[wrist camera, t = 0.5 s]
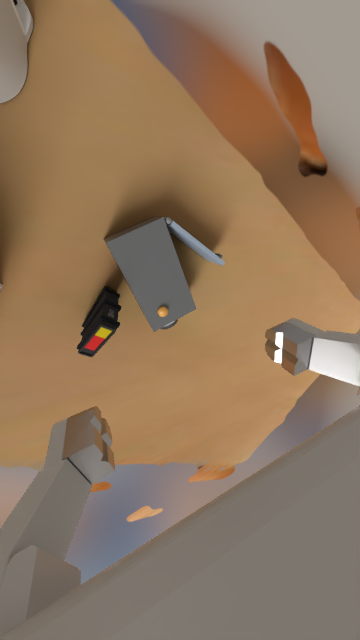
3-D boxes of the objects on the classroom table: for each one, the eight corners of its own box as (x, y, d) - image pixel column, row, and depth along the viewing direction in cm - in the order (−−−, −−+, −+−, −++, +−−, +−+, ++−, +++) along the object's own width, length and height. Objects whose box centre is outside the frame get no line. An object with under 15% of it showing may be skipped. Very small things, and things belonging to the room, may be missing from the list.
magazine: (125, 282, 48) (119, 330, 38) (100, 314, 55) (89, 362, 45) (110, 274, 46) (99, 322, 36) (86, 308, 53) (71, 357, 43)
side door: (154, 221, 46) (164, 221, 40) (159, 211, 46) (171, 210, 39) (207, 261, 56) (223, 266, 49) (211, 253, 55) (228, 257, 49)
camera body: (103, 239, 44) (106, 242, 36) (153, 217, 46) (165, 216, 38) (148, 323, 57) (158, 339, 49) (185, 303, 59) (200, 315, 51)
